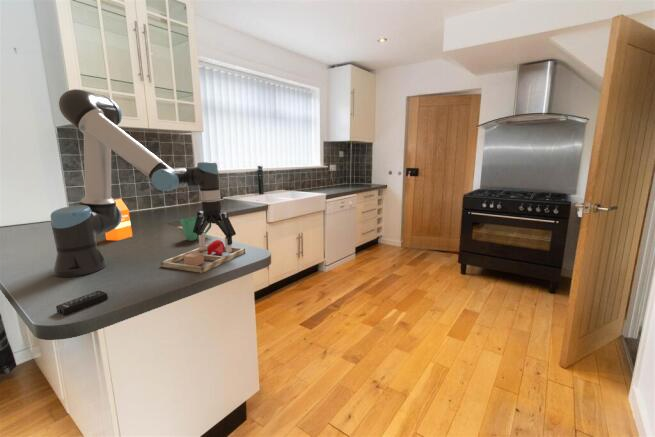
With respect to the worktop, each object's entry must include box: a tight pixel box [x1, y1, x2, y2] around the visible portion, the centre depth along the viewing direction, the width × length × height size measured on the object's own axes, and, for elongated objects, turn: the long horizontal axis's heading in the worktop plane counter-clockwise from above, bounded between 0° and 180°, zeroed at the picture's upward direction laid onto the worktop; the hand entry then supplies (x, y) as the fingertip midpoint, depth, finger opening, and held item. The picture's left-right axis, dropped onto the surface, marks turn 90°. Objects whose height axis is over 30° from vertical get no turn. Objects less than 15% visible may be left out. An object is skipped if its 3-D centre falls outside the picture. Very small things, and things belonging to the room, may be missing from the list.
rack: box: [160, 244, 246, 274], centre depth 127 cm, size 25×20×2 cm
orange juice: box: [104, 198, 133, 241], centre depth 163 cm, size 8×9×20 cm
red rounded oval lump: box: [206, 239, 225, 256], centre depth 132 cm, size 8×6×6 cm
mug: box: [180, 217, 212, 241], centre depth 160 cm, size 15×10×10 cm
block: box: [183, 252, 205, 266], centre depth 122 cm, size 5×5×4 cm
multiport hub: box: [55, 290, 109, 316], centre depth 89 cm, size 4×11×2 cm, turn 155°
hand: (215, 250), depth 133 cm, fingers open, 13 cm apart
